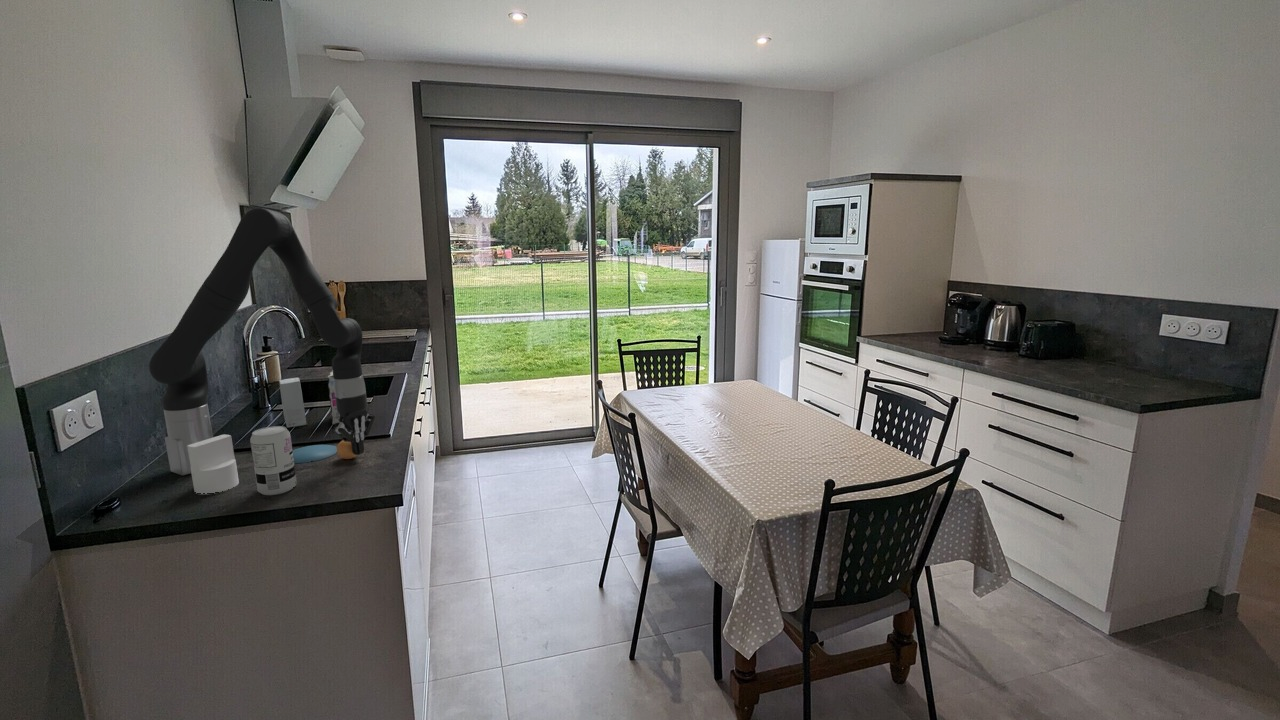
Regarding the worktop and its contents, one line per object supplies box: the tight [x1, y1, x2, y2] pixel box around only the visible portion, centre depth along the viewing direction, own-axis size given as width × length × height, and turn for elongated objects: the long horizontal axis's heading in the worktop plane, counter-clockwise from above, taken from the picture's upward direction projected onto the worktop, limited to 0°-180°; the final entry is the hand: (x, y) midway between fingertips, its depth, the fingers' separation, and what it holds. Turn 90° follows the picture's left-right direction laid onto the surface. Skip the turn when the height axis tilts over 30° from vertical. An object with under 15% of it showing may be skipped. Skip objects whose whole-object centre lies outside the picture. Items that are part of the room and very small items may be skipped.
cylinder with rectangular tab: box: [187, 434, 240, 495], centre depth 144 cm, size 9×9×12 cm
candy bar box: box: [327, 370, 340, 425], centre depth 197 cm, size 11×5×16 cm, turn 21°
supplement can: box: [249, 425, 298, 496], centre depth 142 cm, size 8×8×15 cm
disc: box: [292, 444, 338, 464], centre depth 167 cm, size 14×14×1 cm
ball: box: [336, 439, 357, 460], centre depth 163 cm, size 6×6×6 cm
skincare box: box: [278, 377, 308, 428], centre depth 193 cm, size 8×6×15 cm
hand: (358, 453), depth 161 cm, fingers closed
